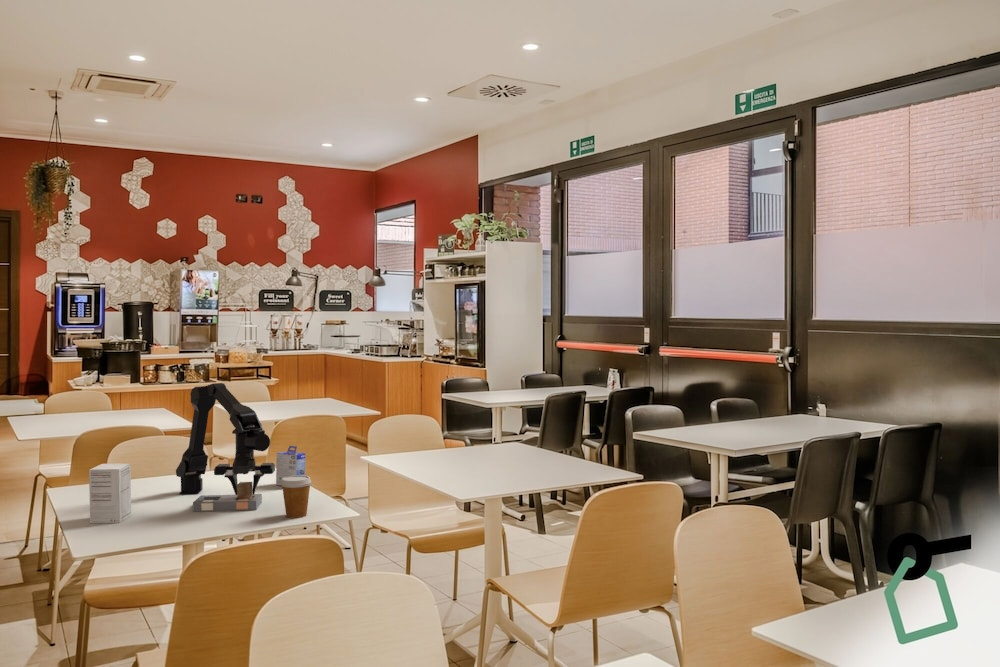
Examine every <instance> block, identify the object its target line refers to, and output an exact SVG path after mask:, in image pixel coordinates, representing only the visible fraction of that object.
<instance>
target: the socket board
mask: <svg viewBox="0 0 1000 667" xmlns="http://www.w3.org/2000/svg"><path fill="white" fill-rule="evenodd" d="M262 498H263V495H262V493H255V494H254V495H253V499H238V495H236V494H209V495H206V494H204V495H203V494H202V495H199V496H198V497H197V498H196V499H195V500H194V501H192V512H223V511H224V512H225V511H227V512H229V511H233V510H234V511H257V510H258V508H260V506H261V505H262V504H263V501H262V500H263V499H262Z"/></svg>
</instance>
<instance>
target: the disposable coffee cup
mask: <svg viewBox="0 0 1000 667" xmlns="http://www.w3.org/2000/svg"><path fill="white" fill-rule="evenodd" d="M281 484H282V486H281V487H282V494H283V495H282V496H283V501H284V502H283V503H284V508H285V517H286V518H289V517H290V518H289V519H291V518H292V519H299V518H298V517H300V518H303V516H304V517H306V516H308V515H307V514H308V513H307V512H308V506H309V497H310V488H311V484H312V480H311V477H310V476H309V475H305V476H304V475H295V476H287V477H284V478H282V482H281Z"/></svg>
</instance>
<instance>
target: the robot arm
mask: <svg viewBox="0 0 1000 667" xmlns="http://www.w3.org/2000/svg"><path fill="white" fill-rule="evenodd" d="M216 401H217V402H218V403H219V404H220V405H221V406H222V408H223V409H224V410H225V411H226V412H227V413H228V415H229V421H230V423H231V424H232V426H233V427H234V428H233V430H232V434H234V435H235V454H234V456H235V457H234V460H233V462H232V465H231V464H230V463H218V464H217V465H216V466H215V467H214V469H213V475H214V476H224V478H227V479H228V480H229V481H230V484H231V486H232V488H233V491H234V495H238V486H237V485H238V484H239V483H238V475H248V474H249V473H250V472H254V474H253V477H252V478H253V480H252V494H253V495H254V494H256V490H257V487H258V484H259V481H260V480H261V477H263V476H264V475H272V474H274V472H276V471H275V470H276V463H274V462H262V463H261V464H260V465H256V464H257V463H256V459H255V458H254V456H255V455H254V454H255V451H257V452H265V451H267V450H268V449H269V447H270V445H271V439H270V437H269V435H268V434H266V433H265V432H266V431H265V429H263V426H262V425H263V424H262V423H261V422H260V419H259V418H258V415H257V413H256V411H255V410H254V409H252V408H251V407H250V406H247V405H245V404H242V403H241V402H240V401H239V400H238V399H237V398H236V396H234V395H233V393H231V391H229V389H228V388H227V386H226V384H225V383H222V382H218V383H217V382H215V383H210V384H208V385H203V386H201V385H200V386H194V387H193V388H192V389H191V390H190V404H191V406H192V407H193V415H192V422H191V430H190V435H189V444H188V447H187V449H186V450H185V451H184V452H183V454H182V456H181V461H180V463H179V464H178V466H177V468H176V469H175V474H176V475H175V476H176V477H179V478H180V492H179V495H191V494H193V495H194V494H196V495H197V494H200V492H202V491H203V488H204V487H203V478H202V475H205V474H206V470H207V467H208V459H209V456H208V455H207V454H206V451H205V449H204V446H205V440H206V432H207V427H208V420H209V413H210V411H211V410H212V409H213V407H214V406H215V405H216ZM230 465H231V466H230Z"/></svg>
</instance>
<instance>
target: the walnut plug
mask: <svg viewBox="0 0 1000 667" xmlns="http://www.w3.org/2000/svg"><path fill="white" fill-rule="evenodd" d="M237 484H238V485H237V486H238V499H253V491H252V490H253V481H239V483H237Z"/></svg>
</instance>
